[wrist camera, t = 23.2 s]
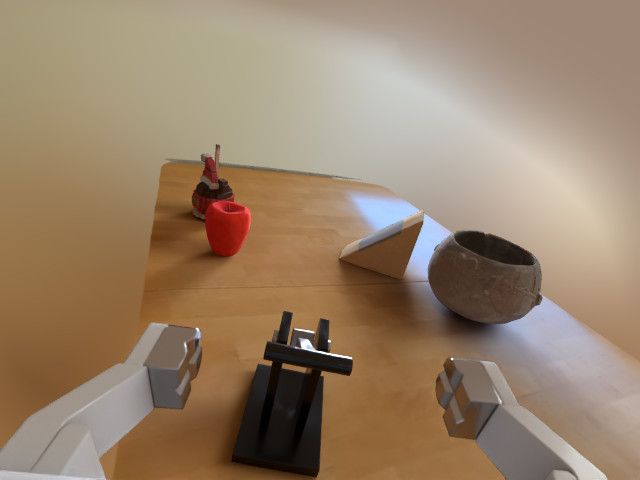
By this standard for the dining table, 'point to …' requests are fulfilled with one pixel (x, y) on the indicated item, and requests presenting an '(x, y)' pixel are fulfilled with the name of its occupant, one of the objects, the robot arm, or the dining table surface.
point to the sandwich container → (386, 247)
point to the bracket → (284, 413)
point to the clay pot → (485, 277)
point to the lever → (307, 354)
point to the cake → (210, 186)
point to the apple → (227, 226)
